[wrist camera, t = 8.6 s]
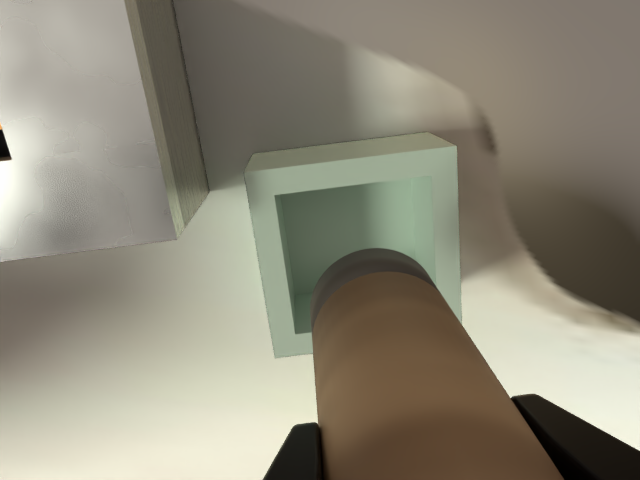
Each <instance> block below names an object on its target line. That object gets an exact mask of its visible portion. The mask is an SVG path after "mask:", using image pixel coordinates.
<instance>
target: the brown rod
mask: <svg viewBox="0 0 640 480" xmlns="http://www.w3.org/2000/svg"><path fill="white" fill-rule="evenodd" d="M310 317H311V331H312V345H313V358H314V372H315V386H316V400H317V413H318V425H319V430H320V443H321V456H322V470H323V480H564V478H563V477H562V475H561V474H560V472H559V471H558V469H557V468H556V466H555V465H554V463H553V462H552V460H551V459H550V457H549V456H548V454H547V453H546V451H545V450H544V448H543V447H542V445H541V444H540V442H539V441H538V439H537V438H536V436H535V435H534V433H533V432H532V430H531V429H530V427H529V426H528V424H527V423H526V421H525V420H524V418H523V417H522V415H521V413H520V412H519V410H518V409H517V407H516V406H515V404H514V403H513V401H512V400H511V398H510V397H509V395H508V394H507V392H506V391H505V389H504V388H503V386H502V385H501V383H500V382H499V380H498V379H497V377H496V376H495V374H494V373H493V371H492V370H491V368H490V367H489V365H488V364H487V362H486V361H485V359H484V358H483V356H482V355H481V353H480V352H479V350H478V349H477V347H476V346H475V344H474V343H473V341H472V340H471V338H470V337H469V335H468V334H467V332H466V331H465V329H464V327H463V326H462V324H461V323H460V321H459V320H458V318H457V317H456V315H455V314H454V312H453V311H452V309H451V308H450V306H449V305H448V303H447V302H446V300H445V299H444V297H443V296H442V294H441V293H440V291H439V290H438V288H437V287H436V285H435V284H434V282H433V281H432V279H431V278H430V276H429V275H428V273H427V272H426V271H425V269H424V268H423V267H422V266H421V265H420V264H419V263H418V262H417V261H415V260H414V259H412V258H411V257H409V256H407V255H405V254H403V253H401V252H398V251H395V250H391V249H385V248H369V249H363V250H359V251H355V252H352V253H350V254H348V255H346V256H343V257H342V258H340V259H339V260H337V261H336V262H334V263H333V264H332V265H331V266H329V267H328V269H327V270H326V271H325V272H324V273H323V274H322V276H321V277H320V278H319V280H318V282H317V283H316V285H315V288H314V290H313V293H312V297H311V302H310Z"/></svg>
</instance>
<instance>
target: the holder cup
mask: <svg viewBox="0 0 640 480" xmlns="http://www.w3.org/2000/svg"><path fill="white" fill-rule="evenodd" d="M244 178H245V184H246V190H247V196H248V202H249V208H250V213H251V219H252V225H253V231H254V237H255V243H256V249H257V255H258V261H259V267H260V273H261V279H262V285H263V291H264V297H265V303H266V309H267V315H268V320H269V326H270V332H271V338H272V344H273V350H274V356H275V358H281V357H289V356H297V355H305V354H312V353H313V345H312V331H311V317H310V302H311V297H312V293H313V290H314V288H315V285H316V283H317V282H318V280H319V278H320V277H321V276H322V274H323V273H324V272H325V271H326V270H327V269H328V267H329V266H331V265H332V264H333V263H334V262H336V261H337V260H339V259H340V258H342V257H343V256H346V255H348V254H350V253H352V252H355V251H359V250H363V249H369V248H385V249H391V250H395V251H398V252H401V253H403V254H405V255H407V256H409V257H411V258H412V259H414V260H415V261H417V262H418V263H419V264H420V265H421V266H422V267H423V268H424V269H425V271H426V272H427V273H428V275H429V276H430V278H431V279H432V281H433V282H434V284H435V285H436V287H437V288H438V290H439V291H440V293H441V294H442V296H443V297H444V299H445V300H446V302H447V303H448V305H449V306H450V308H451V309H452V311H453V312H454V314H455V315H456V317H457V318H458V320H459V321H460V323H461V324H462V311H461V276H460V241H459V206H458V171H457V146H456V145H454V144H452V143H450V142H448V141H446V140H444V139H442V138H439V137H437V136H435V135H433V134H431V133H429V132H422V133H414V134H406V135H398V136H390V137H382V138H374V139H366V140H358V141H350V142H342V143H334V144H326V145H318V146H310V147H302V148H294V149H286V150H278V151H270V152H262V153H254V154H252V156H251V158H250V160H249V162H248V164H247V167H246V169H245V171H244Z"/></svg>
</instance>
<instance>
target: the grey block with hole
mask: <svg viewBox="0 0 640 480" xmlns="http://www.w3.org/2000/svg"><path fill="white" fill-rule="evenodd" d="M0 123H1V126H2V129H1V130H0V262H3V261H11V260H19V259H27V258H35V257H43V256H51V255H59V254H67V253H75V252H82V251H90V250H98V249H106V248H114V247H122V246H130V245H138V244H146V243H154V242H162V241H170V240H177V239H178V237H179V236H180V234H181V233H182V232H183V230H184V229H185V227H186V226H187V224H188V223H189V221H190V220H191V218H192V217H193V215H194V214H195V213H196V211H197V210H198V208H199V207H200V205H201V204H202V202H203V201H204V199H205V198H206V197H207V195H208V194H209V192H210V191H209V186H208V181H207V176H206V171H205V166H204V160H203V155H202V150H201V145H200V140H199V134H198V129H197V124H196V119H195V114H194V109H193V103H192V98H191V93H190V88H189V83H188V77H187V72H186V67H185V62H184V57H183V52H182V46H181V41H180V36H179V31H178V26H177V20H176V15H175V10H174V5H173V0H0Z"/></svg>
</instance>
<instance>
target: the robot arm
mask: <svg viewBox="0 0 640 480" xmlns="http://www.w3.org/2000/svg"><path fill="white" fill-rule="evenodd" d="M511 400H512V401H513V403H514V404H515V406H516V407H517V409H518V410H519V412H520V413H521V415H522V417H523V418H524V420H525V421H526V423H527V424H528V426H529V427H530V429H531V430H532V432H533V433H534V435H535V436H536V438H537V439H538V441H539V442H540V444H541V445H542V447H543V448H544V450H545V451H546V453H547V454H548V456H549V457H550V459H551V460H552V462H553V463H554V465H555V466H556V468H557V469H558V471H559V472H560V474H561V475H562V477H563V478H564V480H640V451H639V450H637V449H635V448H633V447H631V446H630V445H628V444H626V443H624V442H622V441H620V440H619V439H617V438H615V437H613V436H611V435H610V434H608V433H606V432H604V431H602V430H601V429H599V428H597V427H595V426H593V425H591V424H590V423H588V422H586V421H584V420H582V419H581V418H579V417H577V416H575V415H573V414H571V413H570V412H568V411H566V410H564V409H562V408H561V407H559V406H557V405H555V404H553V403H551V402H550V401H548V400H546V399H544V398H542V397H541V396H539V395H536V394H526V395H518V396H513V397H512V398H511ZM263 480H323V470H322V456H321V443H320V430H319V425H318V424H317V423H316V422H312V423H305V424H297V425H295V426H293V428H292V429H291V431H290V433H289V434H288V436H287V438H286V440H285V441H284V443H283V445H282V447H281V448H280V450H279V452H278V454H277V455H276V457H275V459H274V461H273V462H272V464H271V466H270V468H269V469H268V471H267V473H266V475H265V476H264V478H263Z"/></svg>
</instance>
